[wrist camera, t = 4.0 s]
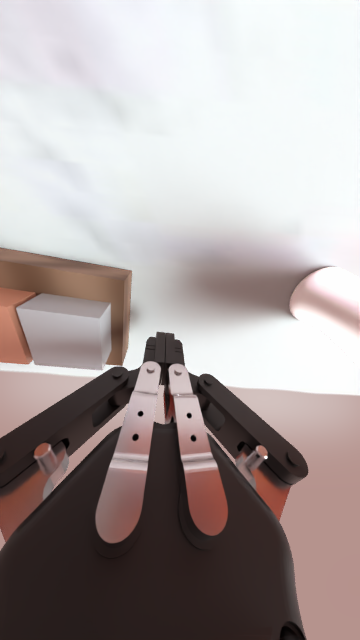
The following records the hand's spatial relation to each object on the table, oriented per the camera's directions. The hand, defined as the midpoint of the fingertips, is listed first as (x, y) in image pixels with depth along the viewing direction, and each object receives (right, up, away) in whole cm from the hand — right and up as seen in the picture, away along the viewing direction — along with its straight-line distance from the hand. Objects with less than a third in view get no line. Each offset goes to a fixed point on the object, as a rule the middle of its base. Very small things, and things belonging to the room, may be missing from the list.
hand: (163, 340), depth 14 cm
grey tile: (-7, +1, 0) cm, 7 cm away
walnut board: (-10, +3, +2) cm, 10 cm away
